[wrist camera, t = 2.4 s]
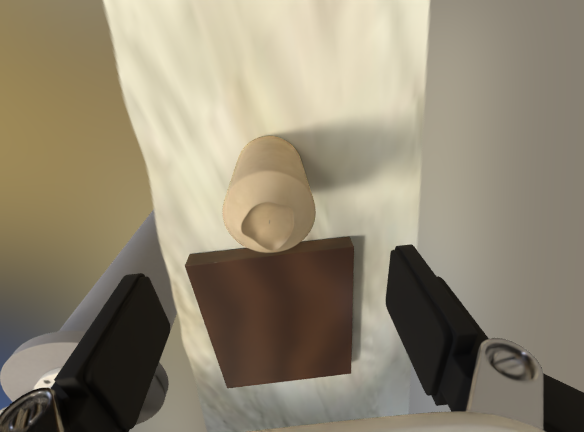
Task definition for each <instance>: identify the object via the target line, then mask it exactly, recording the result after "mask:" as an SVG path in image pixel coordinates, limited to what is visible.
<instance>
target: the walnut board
mask: <svg viewBox="0 0 584 432" xmlns="http://www.w3.org/2000/svg"><path fill="white" fill-rule="evenodd" d="M185 268H186V270H187V273H188V276H189V279H190V282H191V285H192V288H193V291H194V294H195V296H196V299H197V302H198V305H199V308H200V311H201V314H202V317H203V320H204V322H205V325H206V328H207V331H208V334H209V337H210V340H211V343H212V346H213V348H214V351H215V354H216V357H217V360H218V363H219V366H220V369H221V372H222V374H223V377H224V380H225V383H226V386H227V388H235V387H243V386H251V385H260V384H268V383H276V382H284V381H293V380H301V379H309V378H318V377H326V376H334V375H342V374H351V356H352V312H353V268H354V246H353V244H352V241H351V239H350V237H341V238H332V239H323V240H315V241H306V242H300V243H299V244H297V245H295V246H294V247H292V248H290V249H287V250H284V251H280V252H273V253H265V252H258V251H254V250H251V249H249V248H243V249H234V250H225V251H216V252H208V253H199V254H190V255H189V257H188V260H187V262H186V264H185Z"/></svg>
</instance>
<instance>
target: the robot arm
mask: <svg viewBox="0 0 584 432" xmlns="http://www.w3.org/2000/svg"><path fill="white" fill-rule="evenodd" d="M386 307H387V310H388V312H389V314H390V316H391V319H392V321H393V323H394V325H395V327H396V330H397V332H398V334H399V336H400V338H401V341H402V343H403V345H404V347H405V349H406V352H407V354H408V356H409V358H410V360H411V363H412V365H413V367H414V369H415V371H416V374H417V376H418V378H419V380H420V383H421V384H422V387H423V389H424V391H425V393H426V394H427V395H432V397H433V400H434V401H435V404H436V405H437V406H438V405H447V404H448V406H449V408H450V410H451V412H431V413H420V414H408V415H397V416H385V417H376V418H366V419H357V420H348V421H338V422H329V423H319V424H310V425H301V426H292V427H283V428H274V429H265V430H256V431H247V432H584V393H583V392H581V391H579V390H577V389H575V388H573V387H571V386H568V385H566V384H564V383H562V382H560V381H558V380H556V379H554V378H552V377H550V376H547V375H545V374H543V371H542V367H541V366H540V364H539V362H538V361H537V359H536V358H535V357H534V356H533V355H532V354H531V353H530V352H529V351H527V350H526V349H524V348H523V347H522V346H520V345H518V344H516V343H514V342H512V341H509V340H505V339H500V338H491V339H488V337H487V336H486V335H485V333H484V332H483V331H482V329H481V328H480V327H479V325H478V324H477V323H476V322H475V320H474V319H473V318H472V316H471V315H470V314H469V312H468V311H467V310H466V308H465V307H464V306H463V305H462V303H461V302H460V301H459V299H458V298H457V297H456V295H455V294H454V293H453V291H452V290H451V289H450V287H449V286H448V285H447V284H446V282H445V281H444V280H443V279H442V278H441V277H436V275H435V274H434V273H433V271H432V270H431V269H430V267H429V266H428V265H427V264H426V262H425V261H424V259H423V258H422V257H421V255H420V254H419V253H418V251H417V250H416V249H415V247H414V246H413V245H402V246H396V248H395V250H392V251H391V255H390V264H389V273H388V283H387V292H386ZM169 333H170V323H169V321H168V319H167V316H166V314H165V312H164V310H163V307H162V305H161V303H160V301H159V298H158V296H157V294H156V292H155V289H154V287H153V285H152V283H151V280H150V279H149V277H145V275H144V274H141V273H140V274H131V275H126V276H124V277H123V279H122V280H121V282H120V283H119V284H118V286H117V287H116V289H115V290H114V292H113V293H112V295H111V296H110V298H109V299H108V301H107V302H106V304H105V305H104V307H103V308H102V310H101V311H100V313H99V314H98V316H97V317H96V319H95V320H94V322H93V323H92V325H91V326H90V327H89V329H88V330H87V332H86V333H85V335H84V336H83V338H82V339H81V341H80V342H79V344H78V345H77V347H76V348H75V350H74V351H73V353H72V354H71V356H70V357H69V359H68V360H67V362H66V363H65V365H64V366H63V367H60V368H56V369H53V370H50V371H49V372H47V373H45V374H44V375H43V376H42V377H41V378H40V379H39V381H38V382H37V384H36V385H35V387H34V390H32V391H30V392H28V393H26V394H24V395H22V396H21V397H20V398H18V399H17V400H15V401H14V402H12V403H11V404H10V405H9V406H8V407H5V408H3V409H1V410H0V432H129V430H130V429H132V428H133V427H134V426H135V424H136V422H137V419H138V417H139V414H140V411H141V409H142V406H143V403H144V401H145V398H146V395H147V392H148V390H149V387H150V384H151V382H152V379H153V376H154V374H155V371H156V368H157V366H158V363H159V360H160V357H161V355H162V352H163V349H164V347H165V344H166V341H167V339H168V336H169Z"/></svg>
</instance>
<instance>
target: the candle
mask: <svg viewBox="0 0 584 432" xmlns="http://www.w3.org/2000/svg"><path fill="white" fill-rule="evenodd" d="M315 213H316V211H315V204H314V200H313V196H312V193H311V190H310V187H309V184H308V180H307V177H306V174H305V171H304V168H303V164H302V161H301V159H300V156H299V154H298V152H297V151H296V149H295V148H294V147H293V146H292V145H291V144H290V143H288V142H287V141H285V140H284V139H281V138H278V137H274V136H264V137H259V138H257V139H254V140H253V141H251V142H250V143H248V144H247V145H246V146H245V147H244V148H243V150H242V151H241V153H240V155H239V157H238V160H237V163H236V166H235V169H234V172H233V175H232V178H231V181H230V184H229V188H228V191H227V194H226V197H225V200H224V204H223V220H224V223H225V226H226V228H227V230H228V232H229V233H230V234H231V236H232V237H233V238H234V239H235V240H236V241H237V242H239V243H240V244H241V245H243V246H245V247H247V248H249V249H251V250H254V251H258V252H265V253H273V252H280V251H284V250H287V249H290V248H292V247H294V246H295V245H297V244H299V243H300V242H301V241H302V240H303V239H304V238H305V237H306V236H307V235H308V233H309V232H310V230H311V229H312V226H313V224H314V220H315Z"/></svg>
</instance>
